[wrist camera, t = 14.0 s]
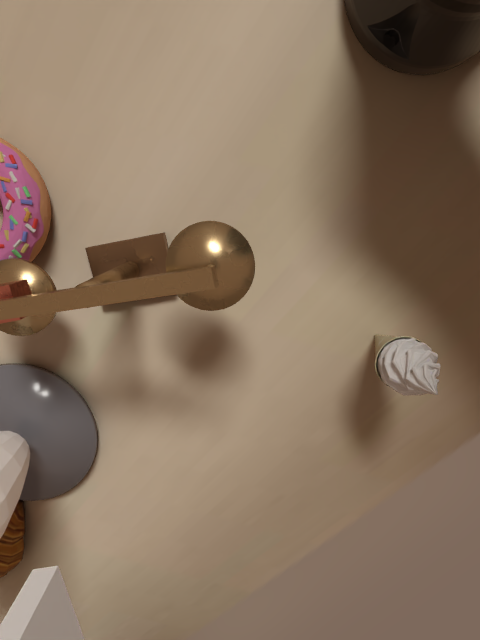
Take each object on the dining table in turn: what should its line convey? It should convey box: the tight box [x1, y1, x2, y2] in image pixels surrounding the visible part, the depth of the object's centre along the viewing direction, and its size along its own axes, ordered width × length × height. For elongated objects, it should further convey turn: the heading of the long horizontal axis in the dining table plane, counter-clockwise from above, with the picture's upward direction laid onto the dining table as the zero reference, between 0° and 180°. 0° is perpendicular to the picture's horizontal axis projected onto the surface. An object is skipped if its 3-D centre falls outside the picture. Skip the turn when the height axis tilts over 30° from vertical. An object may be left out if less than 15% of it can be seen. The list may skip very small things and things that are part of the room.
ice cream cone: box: [374, 335, 440, 395], centre depth 39 cm, size 5×5×15 cm
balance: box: [0, 221, 255, 336], centre depth 37 cm, size 25×7×17 cm, turn 101°
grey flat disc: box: [0, 364, 98, 501], centre depth 49 cm, size 17×17×1 cm
